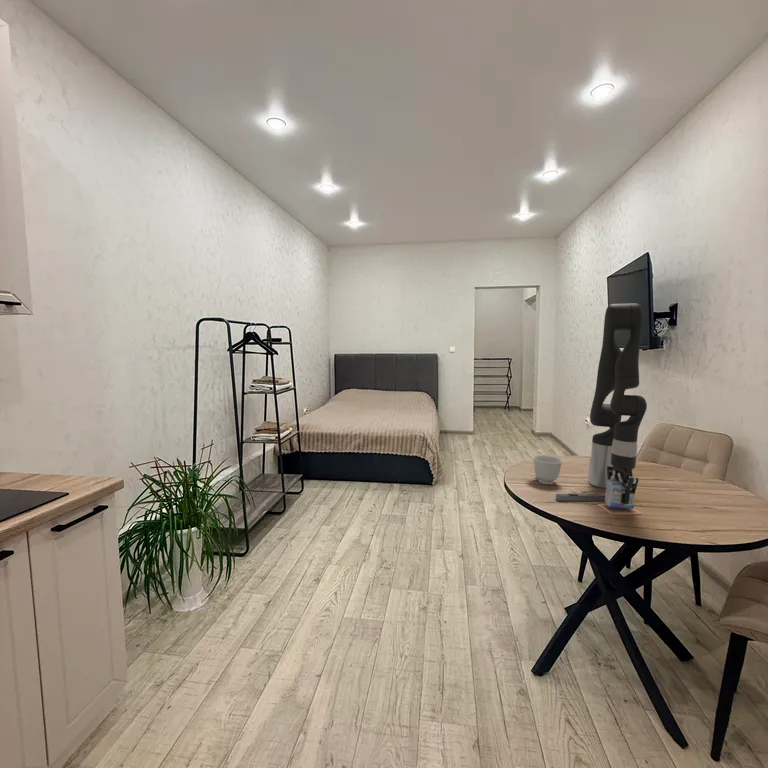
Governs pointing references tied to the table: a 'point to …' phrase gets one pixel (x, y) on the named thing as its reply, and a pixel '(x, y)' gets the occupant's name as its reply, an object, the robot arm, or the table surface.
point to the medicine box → (617, 495)
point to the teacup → (547, 468)
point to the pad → (618, 510)
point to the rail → (580, 497)
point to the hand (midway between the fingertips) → (619, 500)
